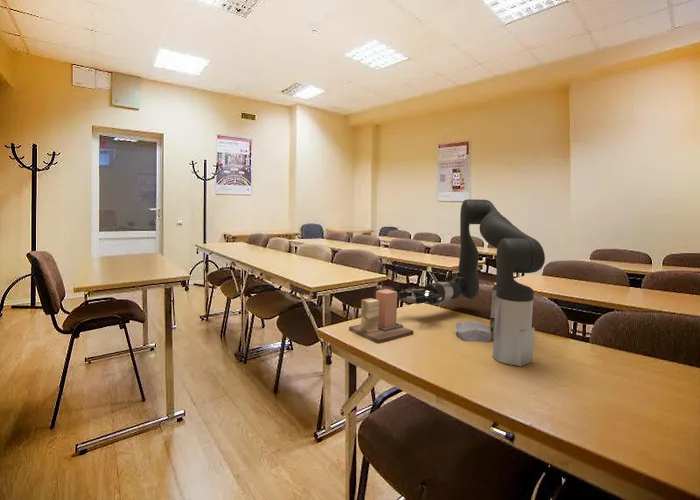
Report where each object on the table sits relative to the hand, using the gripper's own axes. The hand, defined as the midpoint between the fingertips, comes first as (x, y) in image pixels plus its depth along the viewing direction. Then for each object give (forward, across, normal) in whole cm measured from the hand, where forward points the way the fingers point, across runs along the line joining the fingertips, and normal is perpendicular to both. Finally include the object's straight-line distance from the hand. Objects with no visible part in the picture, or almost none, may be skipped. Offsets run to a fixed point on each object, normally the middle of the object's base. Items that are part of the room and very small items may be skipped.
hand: (407, 298), depth 131 cm
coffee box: (-16, +26, +10) cm, 32 cm away
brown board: (+13, +1, +10) cm, 16 cm away
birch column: (+17, 0, +8) cm, 19 cm away
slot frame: (+10, 0, +8) cm, 13 cm away
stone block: (-10, +20, +10) cm, 24 cm away
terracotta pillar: (+10, 0, +8) cm, 13 cm away
